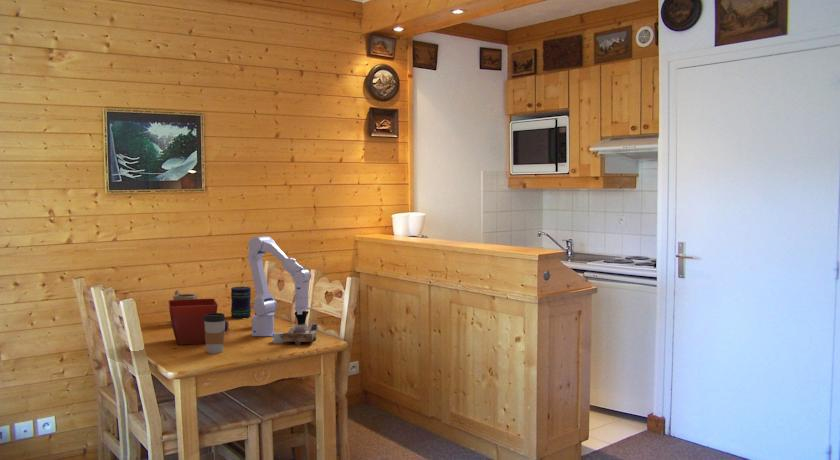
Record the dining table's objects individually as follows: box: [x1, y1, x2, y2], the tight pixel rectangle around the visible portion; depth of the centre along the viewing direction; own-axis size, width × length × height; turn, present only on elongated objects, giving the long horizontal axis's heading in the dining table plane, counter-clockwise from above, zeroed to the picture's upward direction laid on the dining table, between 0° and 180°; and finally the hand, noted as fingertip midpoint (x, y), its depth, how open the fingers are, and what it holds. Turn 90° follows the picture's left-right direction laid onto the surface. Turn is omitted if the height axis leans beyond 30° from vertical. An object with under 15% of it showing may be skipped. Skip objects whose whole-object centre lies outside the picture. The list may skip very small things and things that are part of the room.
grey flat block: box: [282, 322, 319, 346], centre depth 305 cm, size 13×22×5 cm, turn 2°
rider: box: [294, 322, 307, 333], centre depth 304 cm, size 4×4×4 cm
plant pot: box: [167, 298, 218, 346], centre depth 298 cm, size 19×19×17 cm
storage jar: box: [230, 286, 252, 320], centre depth 356 cm, size 10×10×15 cm
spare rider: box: [272, 331, 285, 344], centre depth 300 cm, size 4×4×4 cm
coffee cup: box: [204, 312, 226, 354], centre depth 280 cm, size 8×8×15 cm
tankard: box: [169, 289, 198, 326], centre depth 338 cm, size 20×13×15 cm, turn 34°
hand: (301, 328), depth 307 cm, fingers closed
